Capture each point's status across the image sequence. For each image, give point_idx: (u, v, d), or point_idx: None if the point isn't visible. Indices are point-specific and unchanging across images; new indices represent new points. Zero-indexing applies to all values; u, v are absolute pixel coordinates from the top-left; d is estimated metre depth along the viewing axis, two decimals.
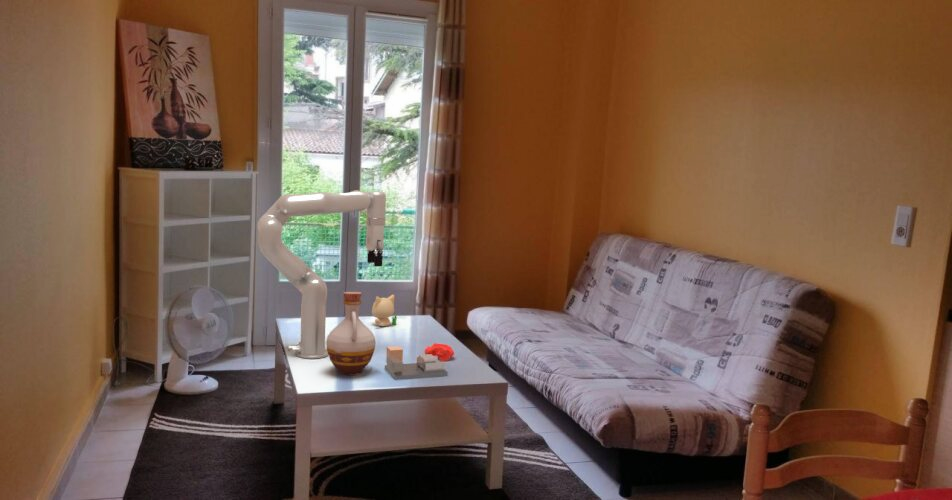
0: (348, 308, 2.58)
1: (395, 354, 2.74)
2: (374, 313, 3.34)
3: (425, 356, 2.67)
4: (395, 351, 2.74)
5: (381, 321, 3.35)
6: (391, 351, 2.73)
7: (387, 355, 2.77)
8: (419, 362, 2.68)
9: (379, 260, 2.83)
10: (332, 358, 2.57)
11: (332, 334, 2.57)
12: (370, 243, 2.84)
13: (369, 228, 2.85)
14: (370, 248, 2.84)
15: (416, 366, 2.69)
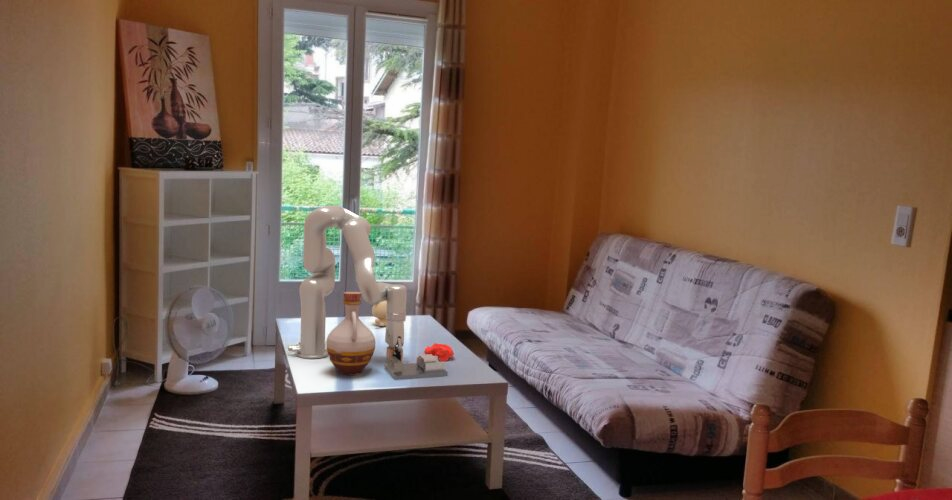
0: (348, 308, 2.58)
1: None
2: (374, 313, 3.34)
3: (425, 356, 2.67)
4: None
5: (381, 321, 3.35)
6: (391, 351, 2.73)
7: (387, 355, 2.77)
8: (419, 362, 2.68)
9: (397, 358, 2.73)
10: (332, 358, 2.57)
11: (332, 334, 2.57)
12: (390, 339, 2.72)
13: (389, 323, 2.74)
14: (390, 344, 2.73)
15: (416, 366, 2.69)
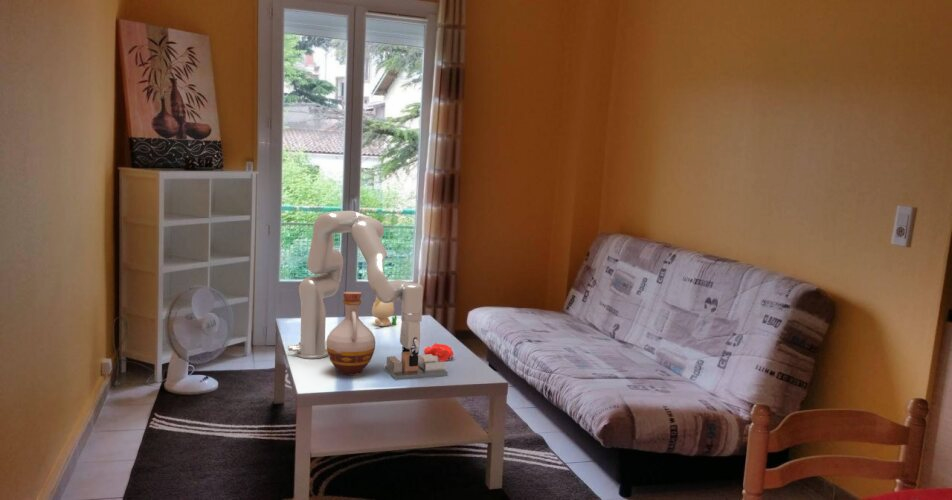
0: (348, 308, 2.58)
1: None
2: (374, 313, 3.34)
3: (425, 356, 2.67)
4: None
5: (381, 321, 3.35)
6: (406, 356, 2.61)
7: (402, 360, 2.65)
8: (419, 362, 2.68)
9: (415, 360, 2.60)
10: (332, 358, 2.57)
11: (332, 334, 2.57)
12: (405, 340, 2.60)
13: (404, 323, 2.61)
14: (405, 346, 2.60)
15: None
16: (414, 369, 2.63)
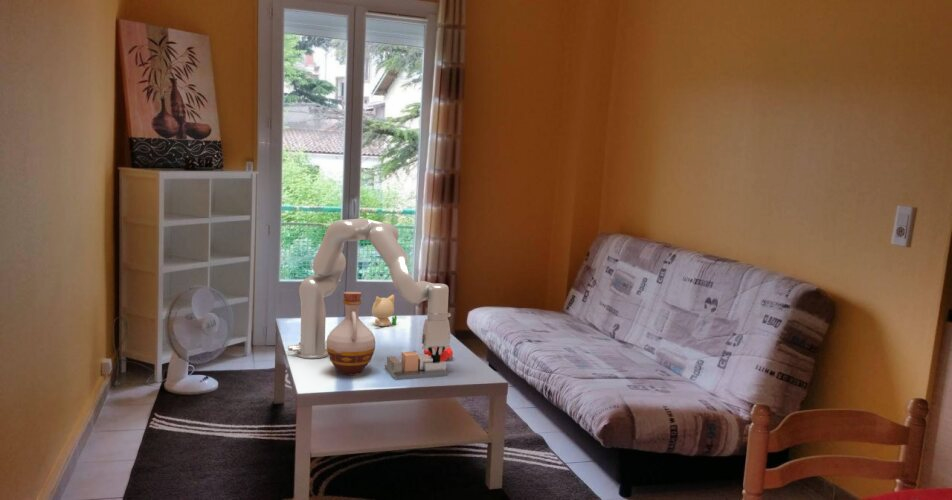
0: (348, 308, 2.58)
1: (411, 360, 2.62)
2: (374, 313, 3.34)
3: (421, 356, 2.67)
4: (410, 356, 2.62)
5: (381, 321, 3.35)
6: (406, 356, 2.61)
7: (402, 360, 2.65)
8: None
9: None
10: (332, 358, 2.57)
11: (332, 334, 2.57)
12: None
13: None
14: None
15: None
16: (414, 369, 2.63)
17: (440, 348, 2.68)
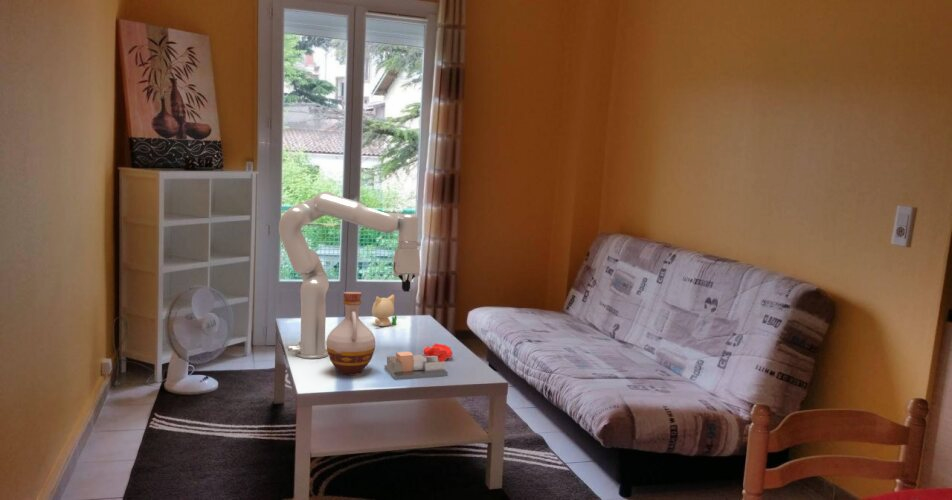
0: (348, 308, 2.58)
1: (406, 360, 2.61)
2: (374, 313, 3.34)
3: (415, 357, 2.66)
4: (405, 357, 2.61)
5: (381, 321, 3.35)
6: (401, 357, 2.60)
7: None
8: None
9: (402, 285, 2.82)
10: (332, 358, 2.57)
11: (332, 334, 2.57)
12: None
13: None
14: None
15: None
16: (409, 369, 2.62)
17: (410, 275, 2.81)
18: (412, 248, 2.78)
